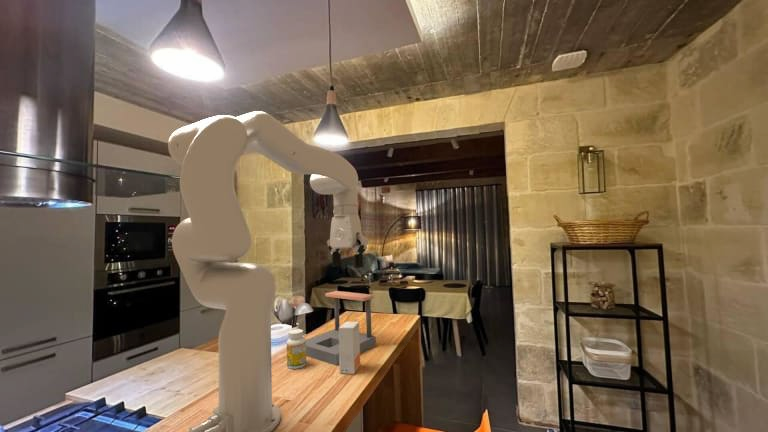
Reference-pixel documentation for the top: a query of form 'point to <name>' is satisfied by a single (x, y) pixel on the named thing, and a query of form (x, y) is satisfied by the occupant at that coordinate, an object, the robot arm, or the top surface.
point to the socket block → (321, 343)
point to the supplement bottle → (296, 349)
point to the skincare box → (349, 347)
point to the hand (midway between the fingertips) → (347, 267)
